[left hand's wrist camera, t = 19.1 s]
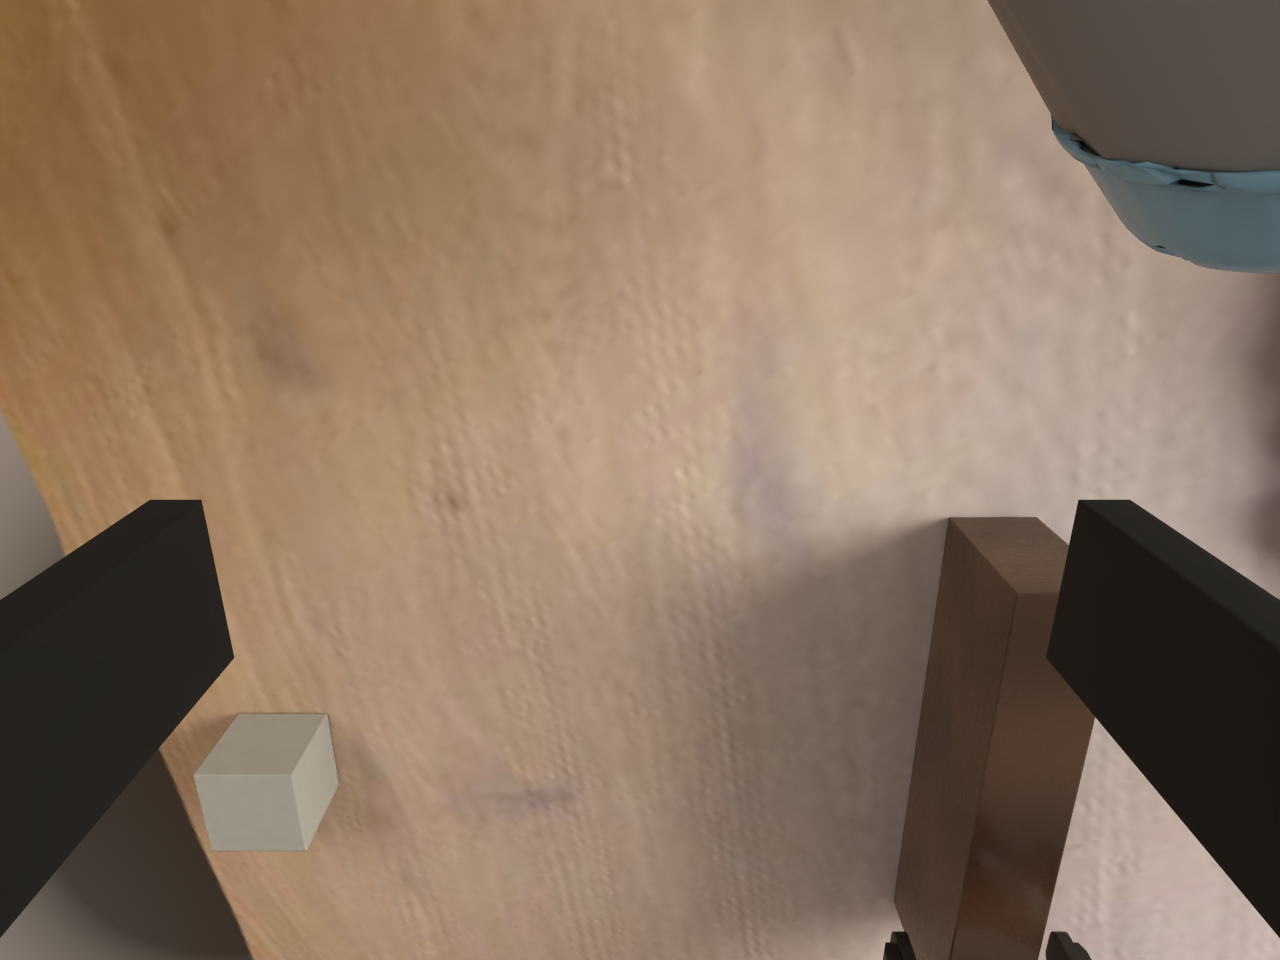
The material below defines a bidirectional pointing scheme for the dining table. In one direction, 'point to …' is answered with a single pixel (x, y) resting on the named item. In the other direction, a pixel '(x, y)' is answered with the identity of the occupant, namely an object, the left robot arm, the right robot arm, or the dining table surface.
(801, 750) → the dining table surface
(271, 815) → the rubber block
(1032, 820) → the bar
